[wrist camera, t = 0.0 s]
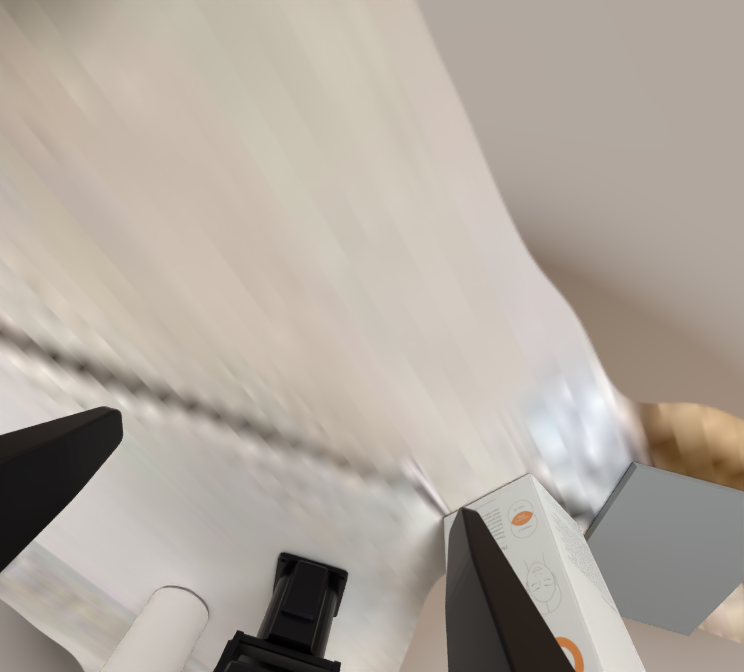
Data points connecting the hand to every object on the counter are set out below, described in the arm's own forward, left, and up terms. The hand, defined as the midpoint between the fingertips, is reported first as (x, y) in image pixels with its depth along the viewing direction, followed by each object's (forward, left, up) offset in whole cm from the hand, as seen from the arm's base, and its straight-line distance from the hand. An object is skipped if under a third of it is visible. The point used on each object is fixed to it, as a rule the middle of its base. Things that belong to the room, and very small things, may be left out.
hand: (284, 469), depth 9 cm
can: (-38, +13, -15) cm, 43 cm away
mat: (-13, -25, -15) cm, 32 cm away
